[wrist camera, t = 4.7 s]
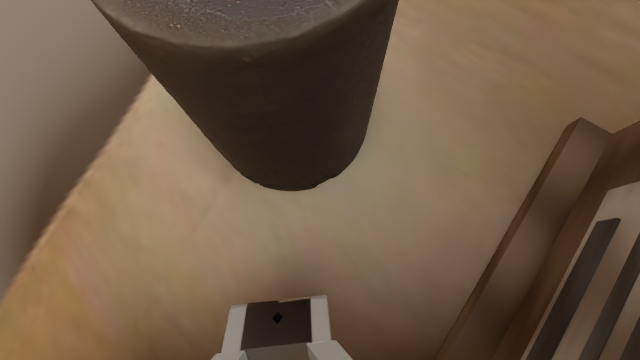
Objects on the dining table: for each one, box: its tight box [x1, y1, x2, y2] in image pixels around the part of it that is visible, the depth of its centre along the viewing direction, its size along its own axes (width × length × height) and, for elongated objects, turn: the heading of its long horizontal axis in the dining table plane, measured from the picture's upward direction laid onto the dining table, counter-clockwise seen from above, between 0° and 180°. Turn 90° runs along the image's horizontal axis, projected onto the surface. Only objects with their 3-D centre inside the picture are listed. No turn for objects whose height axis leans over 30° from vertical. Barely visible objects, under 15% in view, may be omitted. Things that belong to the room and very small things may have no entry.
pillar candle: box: [91, 0, 399, 191], centre depth 15 cm, size 10×10×15 cm
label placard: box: [434, 117, 640, 360], centre depth 13 cm, size 24×5×13 cm, turn 145°
